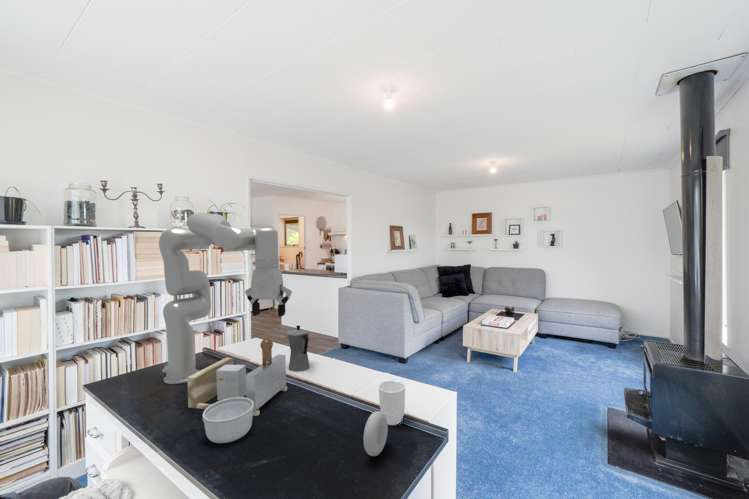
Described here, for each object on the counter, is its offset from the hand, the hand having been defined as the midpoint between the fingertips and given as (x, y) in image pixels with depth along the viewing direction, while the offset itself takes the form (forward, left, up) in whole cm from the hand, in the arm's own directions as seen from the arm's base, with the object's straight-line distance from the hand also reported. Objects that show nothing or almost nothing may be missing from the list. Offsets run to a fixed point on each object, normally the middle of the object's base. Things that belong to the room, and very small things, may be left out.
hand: (268, 315), depth 110 cm
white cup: (+43, -3, -29) cm, 52 cm away
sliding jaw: (0, -1, -27) cm, 27 cm away
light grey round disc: (+42, -19, -29) cm, 54 cm away
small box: (-14, -1, -29) cm, 32 cm away
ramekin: (-1, -20, -29) cm, 35 cm away
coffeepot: (-3, +28, -29) cm, 40 cm away
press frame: (-10, -1, -29) cm, 31 cm away
